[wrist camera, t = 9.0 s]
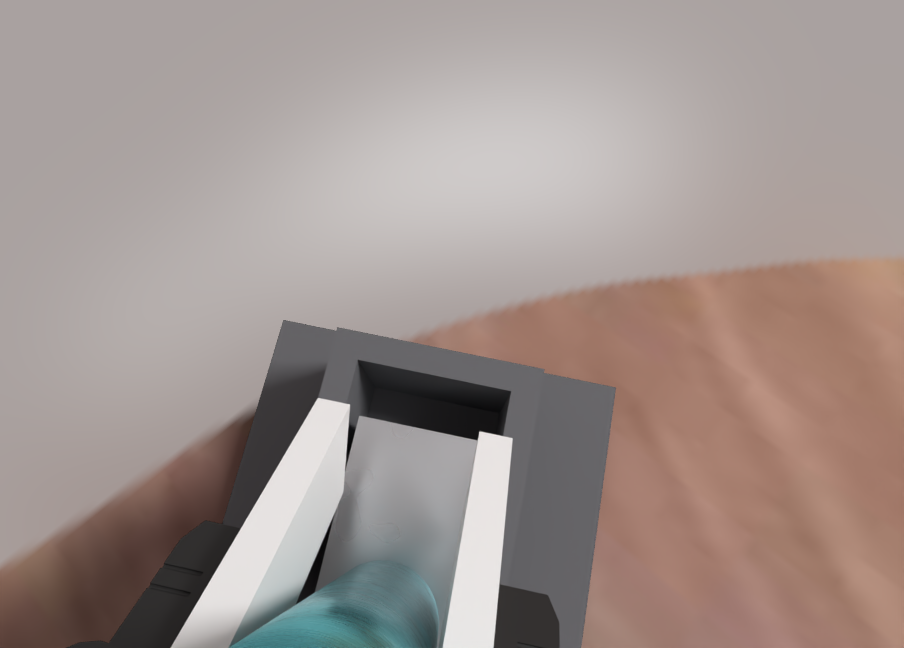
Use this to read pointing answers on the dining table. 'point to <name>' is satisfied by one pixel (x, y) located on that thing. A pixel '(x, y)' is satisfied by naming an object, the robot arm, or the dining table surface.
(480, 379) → the socket
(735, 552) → the dining table surface
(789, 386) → the dining table surface
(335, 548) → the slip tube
